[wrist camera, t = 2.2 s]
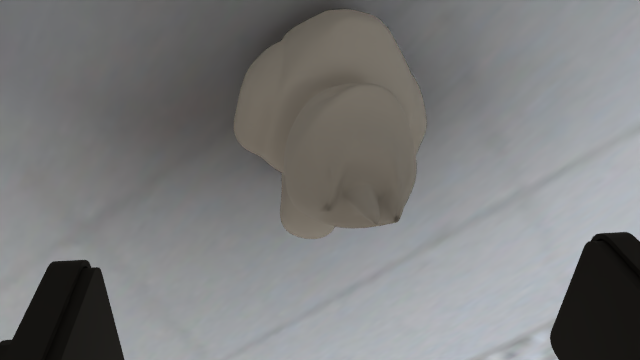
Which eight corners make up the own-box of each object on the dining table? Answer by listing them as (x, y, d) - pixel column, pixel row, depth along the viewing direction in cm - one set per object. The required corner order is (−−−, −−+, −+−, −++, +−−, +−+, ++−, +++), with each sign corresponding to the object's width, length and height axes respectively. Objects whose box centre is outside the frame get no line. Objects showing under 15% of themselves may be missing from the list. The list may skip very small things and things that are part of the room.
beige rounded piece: (434, 15, 16) (564, 145, 9) (366, 189, 19) (425, 376, 12) (260, -31, 14) (263, 79, 8) (220, 163, 18) (199, 356, 11)
